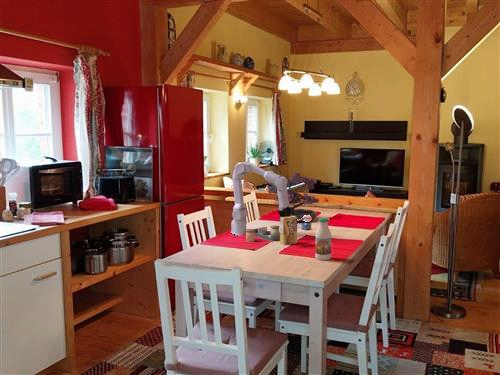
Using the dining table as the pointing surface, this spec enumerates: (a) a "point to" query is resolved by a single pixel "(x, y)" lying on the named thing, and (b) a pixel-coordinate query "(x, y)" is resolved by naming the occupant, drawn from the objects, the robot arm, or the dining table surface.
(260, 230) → the plate
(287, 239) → the candy box
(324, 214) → the dining table surface
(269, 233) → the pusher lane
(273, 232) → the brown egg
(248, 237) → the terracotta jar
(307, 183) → the bonsai tree
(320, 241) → the milk bottle
